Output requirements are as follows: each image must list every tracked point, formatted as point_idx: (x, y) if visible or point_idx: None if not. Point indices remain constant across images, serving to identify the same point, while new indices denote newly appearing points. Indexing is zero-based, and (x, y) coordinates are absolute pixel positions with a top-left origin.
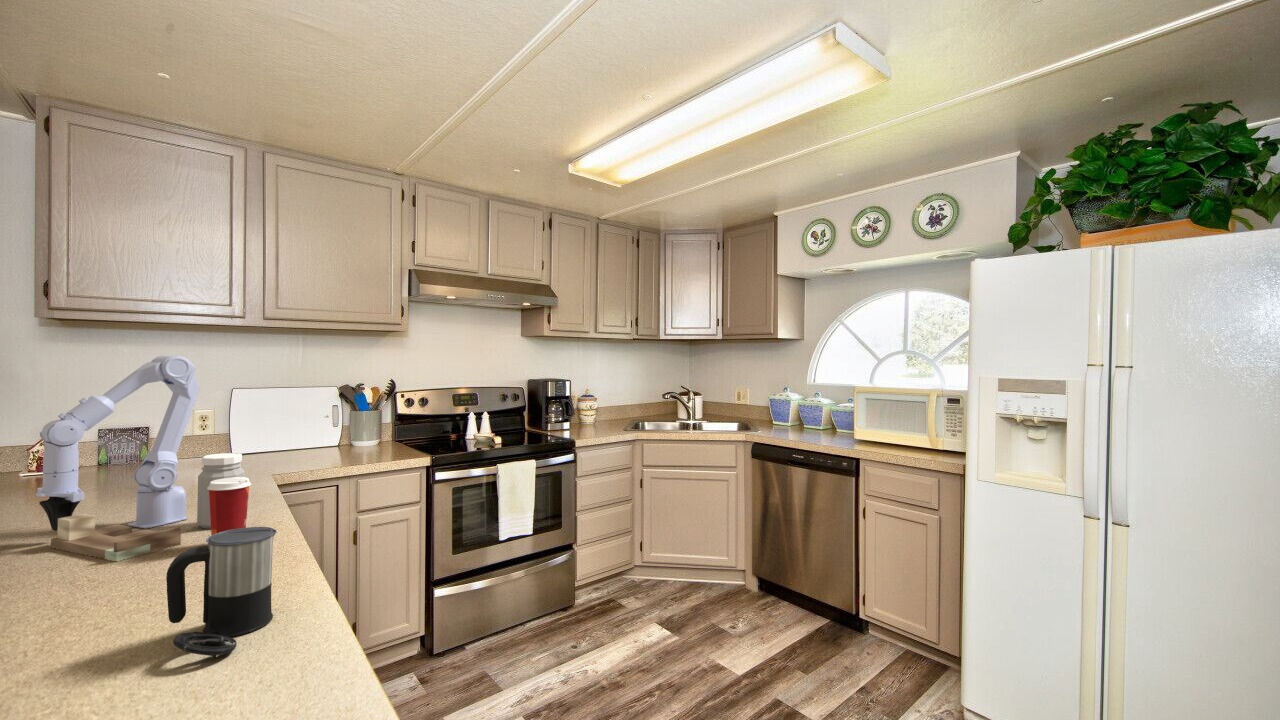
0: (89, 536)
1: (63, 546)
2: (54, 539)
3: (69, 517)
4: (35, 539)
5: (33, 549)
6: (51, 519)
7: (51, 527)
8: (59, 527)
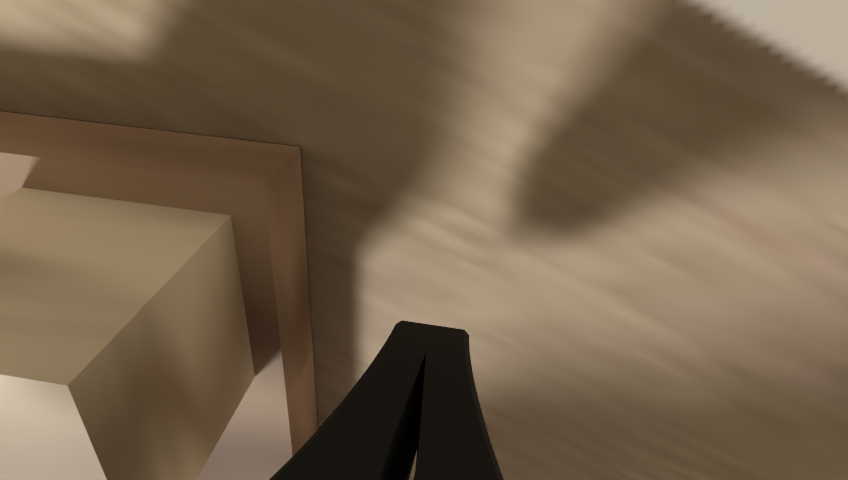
0: None
1: (66, 135)
2: (203, 180)
3: (18, 442)
4: (781, 286)
5: (401, 66)
6: (423, 427)
7: (461, 346)
8: (116, 286)
